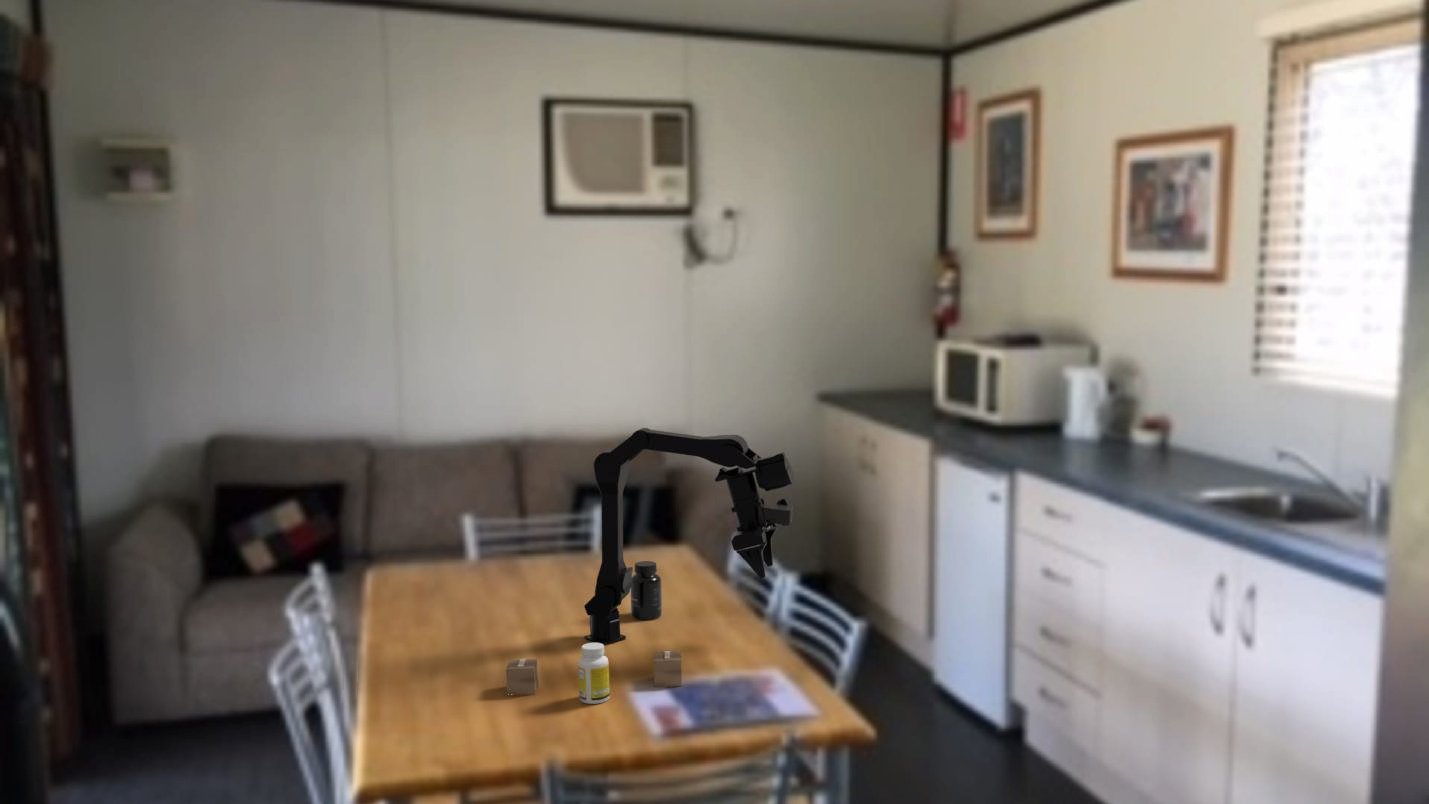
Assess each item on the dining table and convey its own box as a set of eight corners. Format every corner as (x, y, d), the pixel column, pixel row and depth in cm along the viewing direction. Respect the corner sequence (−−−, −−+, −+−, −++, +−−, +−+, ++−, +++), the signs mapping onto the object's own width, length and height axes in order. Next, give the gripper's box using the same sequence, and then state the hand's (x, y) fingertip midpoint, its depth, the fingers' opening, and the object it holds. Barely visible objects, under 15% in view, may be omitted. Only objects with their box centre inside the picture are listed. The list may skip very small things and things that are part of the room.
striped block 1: (510, 686, 213) (509, 658, 212) (538, 685, 213) (537, 657, 212) (507, 695, 208) (505, 667, 207) (534, 695, 208) (533, 666, 208)
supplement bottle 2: (625, 619, 253) (624, 565, 251) (639, 610, 259) (637, 558, 258) (654, 622, 250) (652, 568, 249) (667, 613, 256) (665, 560, 255)
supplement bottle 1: (614, 695, 207) (613, 642, 206) (602, 706, 202) (600, 652, 201) (587, 692, 208) (585, 640, 207) (574, 703, 203) (572, 649, 202)
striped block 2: (654, 678, 216) (654, 650, 215) (681, 677, 216) (680, 649, 215) (654, 687, 211) (653, 659, 210) (681, 686, 211) (680, 658, 210)
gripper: (776, 496, 218) (798, 574, 219) (790, 479, 237) (811, 551, 237) (721, 510, 221) (743, 587, 222) (739, 492, 239) (760, 563, 240)
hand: (766, 571), depth 230 cm, fingers open, 9 cm apart
